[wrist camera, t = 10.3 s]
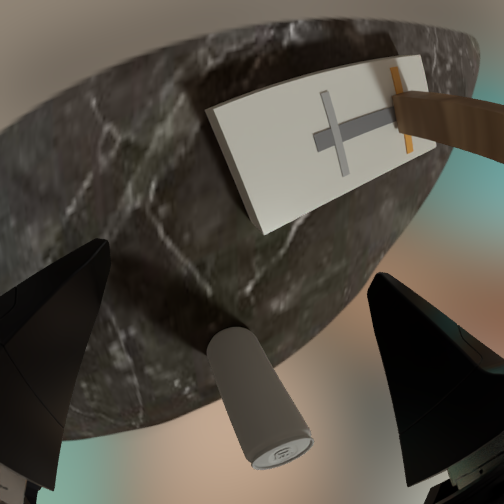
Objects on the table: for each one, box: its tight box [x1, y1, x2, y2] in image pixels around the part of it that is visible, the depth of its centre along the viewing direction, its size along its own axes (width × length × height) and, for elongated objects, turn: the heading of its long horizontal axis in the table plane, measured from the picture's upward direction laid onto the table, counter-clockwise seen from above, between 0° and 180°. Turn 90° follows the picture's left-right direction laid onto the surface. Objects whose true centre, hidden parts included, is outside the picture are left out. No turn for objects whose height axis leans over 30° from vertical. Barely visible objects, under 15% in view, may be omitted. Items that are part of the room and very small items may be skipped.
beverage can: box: [207, 327, 314, 470], centre depth 21 cm, size 5×5×12 cm
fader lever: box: [392, 90, 504, 164], centre depth 14 cm, size 2×3×10 cm
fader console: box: [205, 55, 436, 235], centre depth 19 cm, size 18×9×3 cm, turn 111°
